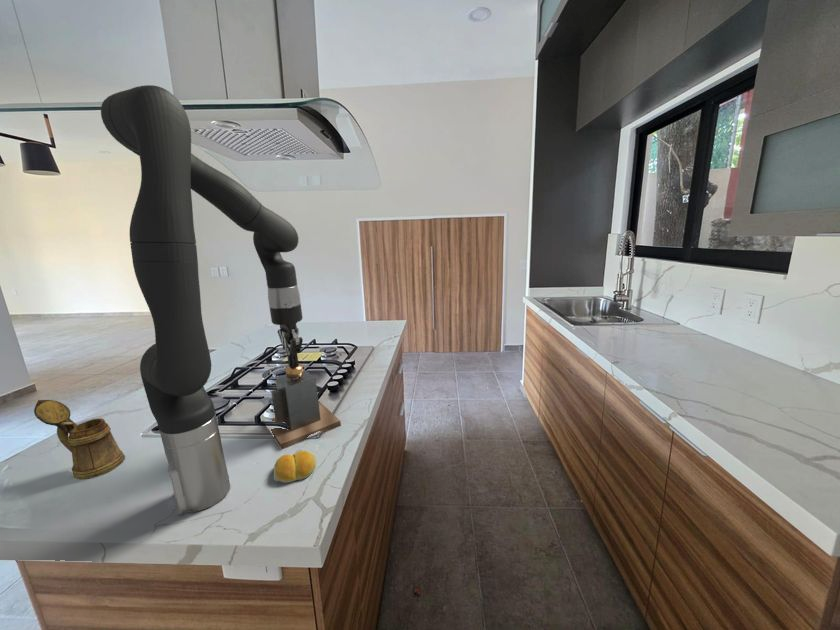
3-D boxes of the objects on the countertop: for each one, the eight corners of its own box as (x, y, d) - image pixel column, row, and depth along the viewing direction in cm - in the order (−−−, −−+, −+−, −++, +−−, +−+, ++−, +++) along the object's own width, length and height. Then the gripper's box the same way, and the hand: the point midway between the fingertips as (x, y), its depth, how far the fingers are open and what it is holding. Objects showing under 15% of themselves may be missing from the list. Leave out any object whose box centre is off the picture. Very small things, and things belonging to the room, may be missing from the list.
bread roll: (318, 476, 75) (316, 460, 74) (274, 489, 72) (272, 472, 71) (314, 454, 83) (312, 440, 82) (274, 465, 80) (272, 450, 79)
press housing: (282, 434, 89) (275, 390, 85) (273, 422, 95) (266, 380, 92) (320, 420, 95) (315, 378, 92) (309, 409, 101) (304, 369, 98)
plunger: (293, 422, 91) (286, 373, 87) (286, 413, 96) (279, 366, 92) (315, 414, 94) (309, 366, 91) (307, 406, 99) (301, 360, 96)
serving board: (281, 449, 85) (280, 444, 84) (264, 423, 97) (263, 418, 97) (340, 425, 94) (340, 420, 94) (318, 404, 107) (317, 399, 106)
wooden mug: (78, 456, 85) (56, 391, 81) (134, 453, 86) (116, 387, 81) (42, 482, 77) (15, 410, 72) (104, 478, 77) (81, 406, 73)
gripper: (262, 302, 90) (272, 363, 94) (277, 310, 80) (287, 378, 84) (291, 298, 95) (299, 356, 99) (309, 305, 84) (317, 370, 89)
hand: (293, 366), depth 91 cm, fingers closed
